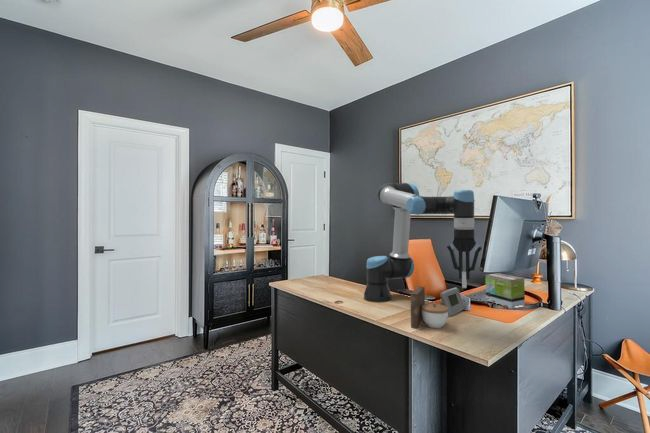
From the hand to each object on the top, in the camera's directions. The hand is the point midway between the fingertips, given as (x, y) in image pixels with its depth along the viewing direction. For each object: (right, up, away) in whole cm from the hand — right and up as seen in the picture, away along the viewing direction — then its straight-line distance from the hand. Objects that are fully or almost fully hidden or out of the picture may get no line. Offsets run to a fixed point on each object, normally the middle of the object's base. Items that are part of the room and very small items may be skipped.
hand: (464, 287), depth 125 cm
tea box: (+36, -17, +35) cm, 53 cm away
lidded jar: (-10, -18, +5) cm, 21 cm away
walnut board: (-16, -17, +9) cm, 25 cm away
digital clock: (+5, -17, +23) cm, 29 cm away
